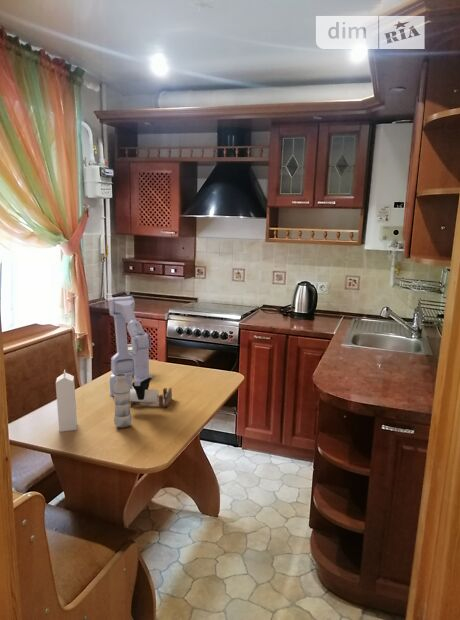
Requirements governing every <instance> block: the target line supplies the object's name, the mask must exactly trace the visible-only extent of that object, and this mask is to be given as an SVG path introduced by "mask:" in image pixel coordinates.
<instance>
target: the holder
mask: <svg viewBox="0 0 460 620" xmlns="http://www.w3.org/2000/svg"><path fill="white" fill-rule="evenodd" d="M172 390H173V389H172V387H169V389H168V390H167V388H166V387H164V388H163V390H162V391H163V392H162V393H163V394H159V399H158V402H140V401H129V403H130V408H152V409H153V408H156V409H167V408H168V407H169V405H170V404H171V401H172V395H173V394H172V392H173V391H172Z"/></svg>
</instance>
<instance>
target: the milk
mask: <svg viewBox="0 0 460 620" xmlns="http://www.w3.org/2000/svg"><path fill="white" fill-rule="evenodd" d="M75 386H76V385H75V376H74V375H72V374H70V373H68V372H66V369H64V371H63V373H62V374H61V375H59V376H58V377H56V380H55V391H56V404H57V405H56V406H57V408H56V409H57V417H58V418H57V419H58V420H57V422H58V432H59V433H61V432H70V431H76V430H77V429H78V428H77V427H78V426H77V425H78V419H77V404H76V387H75Z"/></svg>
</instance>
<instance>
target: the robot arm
mask: <svg viewBox="0 0 460 620" xmlns="http://www.w3.org/2000/svg"><path fill="white" fill-rule="evenodd" d="M135 304H136V301H135V299H134V297H133V296H132V295H130V296H117V297H110V298H109V301H108V310H109V316H111V317H113V321H114V330H115V345H116V353H115V354H114V355H113V356H111V358H110V370H111V375H110V378H109V391H110V392H109V396H113V397H114V394H113V386H114V385H115V383H116V382H117V381H116V375H117V374H126V382H127V383H128V384H129V386H130V389H135V391H136V394H137V397H138V400H143V399H144V394H145V389H146V390H149V385H150V382H151V381H152V379H153V374H151V373H150V357H149V356H150V354H149V353H150V351H149V349H150V348H151V345H152V342H151V336H150V335H149V333H147V332H145V330H144V328H143V325H142V323H141V322H140V321H138V320H137V317H136V315H135V312H134V311H135V307H136V305H135ZM127 332H128V333H129V334H127ZM128 335H129V337H130V338H131V339H130V341H131V342H130V344H131V345H132V349H133V354H134V356H133V355H132V354H130V353H129V352H128ZM134 371H135V375H134V377H132V374H133V372H134ZM133 378H134V381H133Z"/></svg>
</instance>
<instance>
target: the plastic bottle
mask: <svg viewBox="0 0 460 620" xmlns="http://www.w3.org/2000/svg"><path fill="white" fill-rule="evenodd" d="M116 381H117V382H116V383H115V385H114V386H113V394H114V396H113V398H114V417H113V418H114V419H113V421H114V425H115V426H116V427H117V428H120V429H123V428H128V427H129V426H130V425H132V420H133V418H132V413H131V405H130V401H129V397H130V386H129V384H128V383H127V382H126V374H117V375H116Z"/></svg>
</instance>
